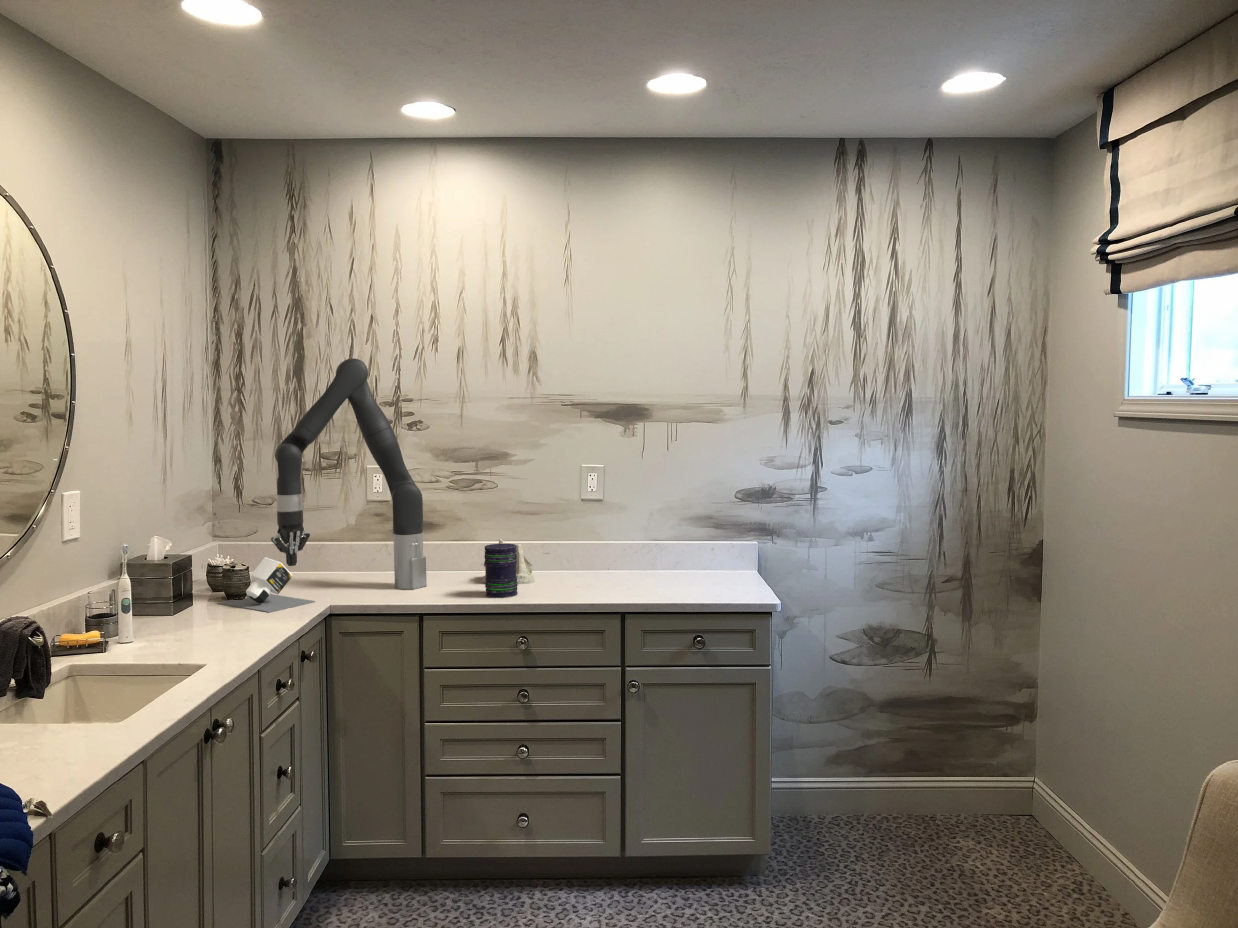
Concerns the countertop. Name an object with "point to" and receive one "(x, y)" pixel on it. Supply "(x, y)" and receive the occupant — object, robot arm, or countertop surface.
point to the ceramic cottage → (520, 567)
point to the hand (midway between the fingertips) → (291, 565)
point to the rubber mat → (268, 603)
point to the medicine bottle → (268, 579)
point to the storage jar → (501, 570)
